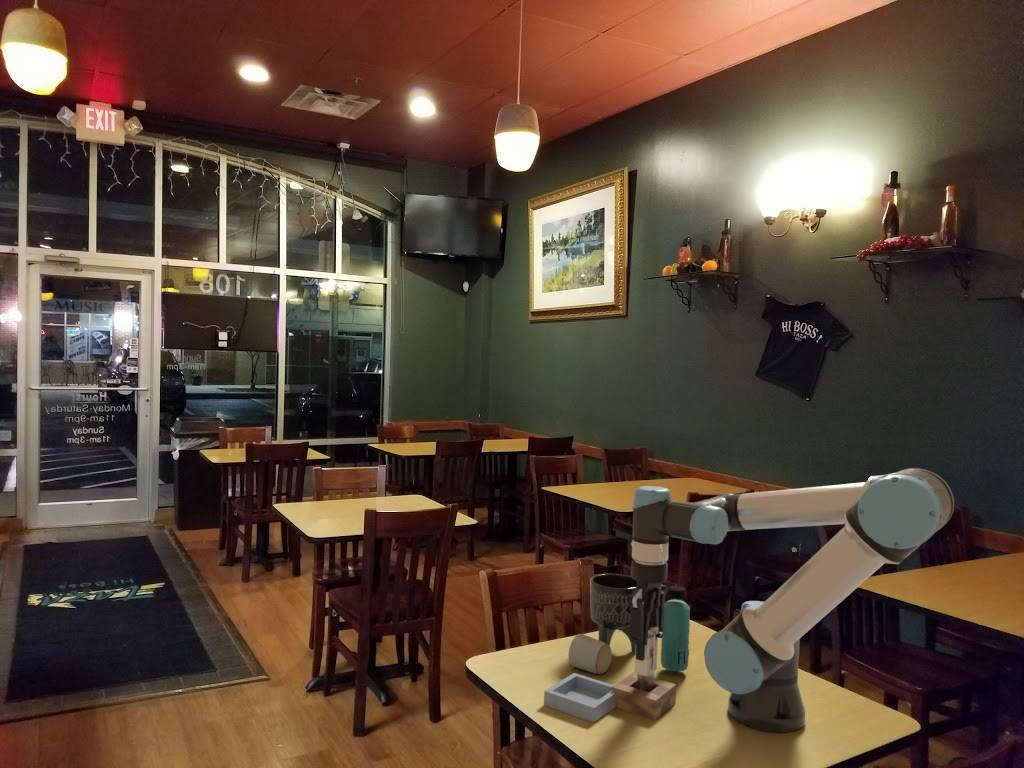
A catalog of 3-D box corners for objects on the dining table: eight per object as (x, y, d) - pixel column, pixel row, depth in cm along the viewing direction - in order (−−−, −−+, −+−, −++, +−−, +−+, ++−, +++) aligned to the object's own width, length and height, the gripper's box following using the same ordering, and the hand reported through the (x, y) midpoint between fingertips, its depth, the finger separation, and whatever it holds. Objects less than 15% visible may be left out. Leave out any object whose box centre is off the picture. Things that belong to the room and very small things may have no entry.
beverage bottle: (676, 680, 175) (680, 593, 174) (653, 670, 180) (657, 586, 179) (694, 673, 179) (697, 588, 178) (671, 664, 184) (674, 581, 183)
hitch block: (675, 703, 163) (676, 684, 163) (654, 720, 155) (655, 700, 155) (633, 689, 169) (633, 671, 169) (611, 705, 161) (611, 686, 161)
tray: (622, 702, 163) (622, 688, 162) (593, 722, 153) (594, 708, 153) (573, 686, 170) (574, 672, 169) (543, 705, 160) (544, 690, 160)
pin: (659, 696, 162) (662, 626, 162) (650, 703, 158) (652, 632, 158) (639, 690, 165) (642, 621, 164) (630, 697, 161) (632, 627, 161)
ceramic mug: (597, 680, 173) (599, 646, 173) (566, 670, 178) (568, 637, 178) (619, 666, 182) (621, 634, 182) (589, 657, 187) (591, 626, 187)
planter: (627, 666, 182) (630, 592, 181) (578, 653, 189) (581, 582, 188) (647, 649, 193) (650, 579, 192) (601, 637, 200) (603, 570, 199)
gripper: (650, 550, 170) (647, 654, 170) (614, 565, 156) (611, 678, 157) (682, 556, 165) (678, 663, 166) (648, 572, 152) (644, 688, 153)
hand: (645, 670), depth 161 cm, fingers closed on pin, 3 cm apart
